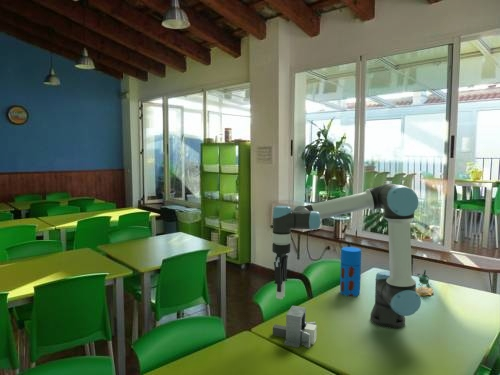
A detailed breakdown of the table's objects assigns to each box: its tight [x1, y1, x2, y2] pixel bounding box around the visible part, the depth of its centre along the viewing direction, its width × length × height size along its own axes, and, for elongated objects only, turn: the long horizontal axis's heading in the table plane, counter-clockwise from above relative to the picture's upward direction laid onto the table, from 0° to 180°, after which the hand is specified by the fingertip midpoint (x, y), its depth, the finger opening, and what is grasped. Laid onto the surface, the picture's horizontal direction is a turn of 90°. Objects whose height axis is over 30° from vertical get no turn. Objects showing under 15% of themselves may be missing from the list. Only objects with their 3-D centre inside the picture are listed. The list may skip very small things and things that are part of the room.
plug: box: [272, 323, 318, 345], centre depth 157 cm, size 18×5×6 cm, turn 68°
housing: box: [283, 305, 317, 349], centre depth 155 cm, size 10×15×12 cm
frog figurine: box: [416, 268, 434, 297], centre depth 208 cm, size 10×18×15 cm, turn 121°
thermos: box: [339, 246, 362, 297], centre depth 207 cm, size 11×11×25 cm
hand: (280, 297), depth 157 cm, fingers open, 2 cm apart
